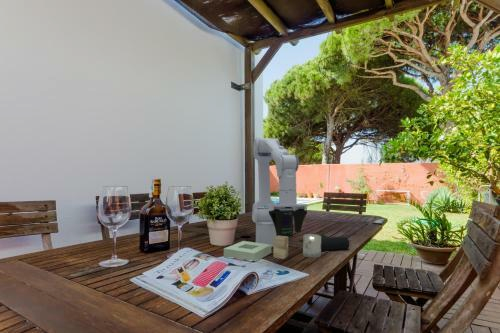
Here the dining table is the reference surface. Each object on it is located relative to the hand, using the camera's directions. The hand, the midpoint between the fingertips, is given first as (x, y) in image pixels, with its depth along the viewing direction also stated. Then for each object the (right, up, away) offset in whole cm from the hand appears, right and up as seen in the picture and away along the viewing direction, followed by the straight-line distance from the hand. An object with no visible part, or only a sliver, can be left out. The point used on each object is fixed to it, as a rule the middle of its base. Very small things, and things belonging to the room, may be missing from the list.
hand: (288, 232), depth 98 cm
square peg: (-2, -11, +9) cm, 14 cm away
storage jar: (+3, -12, +46) cm, 48 cm away
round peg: (+10, -11, +12) cm, 19 cm away
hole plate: (-13, -10, +11) cm, 20 cm away
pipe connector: (+18, -12, +24) cm, 32 cm away
